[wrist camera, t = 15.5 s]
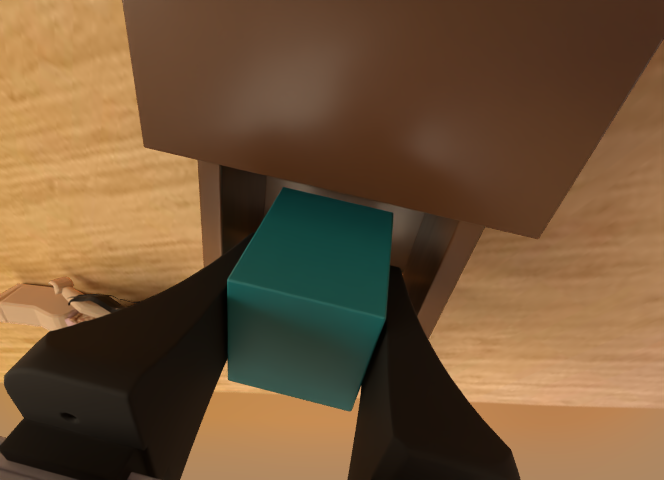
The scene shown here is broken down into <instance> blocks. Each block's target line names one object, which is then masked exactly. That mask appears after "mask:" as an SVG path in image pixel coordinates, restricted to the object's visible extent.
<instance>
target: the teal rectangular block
mask: <svg viewBox="0 0 664 480" xmlns="http://www.w3.org/2000/svg"><path fill="white" fill-rule="evenodd" d="M393 217H394V214H393V213H392V212H389V211H384V210H380V209H376V208H372V207H367V206H363V205H359V204H354V203H350V202H346V201H342V200H337V199H333V198H329V197H324V196H320V195H316V194H312V193H307V192H303V191H299V190H294V189H290V188H286V187H283V188H282V190H281V191H280V193H279V195H278V196H277V198H276V200H275V201H274V203H273V205H272V206H271V208H270V209H269V211H268V213H267V214H266V216H265V218H264V219H263V221H262V223H261V224H260V226H259V228H258V229H257V231H256V233H255V234H254V236H253V238H252V239H251V241H250V243H249V244H248V246H247V248H246V249H245V251H244V252H243V254H242V256H241V257H240V259H239V261H238V262H237V264H236V266H235V267H234V269H233V271H232V272H231V274H230V276H229V277H228V279H227V327H228V380H229V381H233V382H237V383H241V384H245V385H249V386H253V387H256V388H260V389H264V390H268V391H272V392H276V393H280V394H284V395H288V396H291V397H295V398H299V399H303V400H307V401H311V402H315V403H319V404H322V405H326V406H330V407H334V408H338V409H342V410H346V411H351V410H352V408H353V405H354V403H355V400H356V397H357V395H358V392H359V390H360V387H361V384H362V382H363V379H364V376H365V374H366V371H367V368H368V366H369V363H370V360H371V358H372V355H373V352H374V350H375V347H376V344H377V342H378V339H379V336H380V334H381V331H382V328H383V326H384V323H385V320H386V313H387V300H388V286H389V272H390V258H391V245H392V231H393Z"/></svg>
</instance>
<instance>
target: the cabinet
mask: <svg viewBox="0 0 664 480" xmlns="http://www.w3.org/2000/svg"><path fill="white" fill-rule="evenodd" d="M122 2H123V9H124V15H125V22H126V29H127V36H128V42H129V49H130V56H131V63H132V69H133V76H134V83H135V90H136V96H137V103H138V110H139V117H140V123H141V130H142V137H143V144H144V147H145V148H150V149H154V150H158V151H162V152H167V153H171V154H175V155H180V156H184V157H188V158H192V159H197V160H201V161H205V162H210V163H214V164H218V165H222V166H227V167H231V168H235V169H240V170H244V171H248V172H252V173H257V174H261V175H265V176H270V177H274V178H278V179H282V180H287V181H291V182H295V183H300V184H304V185H308V186H312V187H317V188H321V189H325V190H330V191H334V192H338V193H342V194H347V195H351V196H355V197H360V198H364V199H368V200H372V201H377V202H381V203H385V204H390V205H394V206H398V207H402V208H407V209H411V210H415V211H420V212H424V213H428V214H432V215H437V216H441V217H445V218H450V219H454V220H458V221H462V222H467V223H471V224H475V225H480V226H484V227H488V228H492V229H497V230H501V231H505V232H510V233H514V234H518V235H522V236H527V237H531V238H535V239H539V238H540V236H541V234H542V233H543V231H544V230H545V228H546V226H547V225H548V223H549V222H550V220H551V218H552V217H553V215H554V214H555V212H556V210H557V209H558V207H559V206H560V204H561V202H562V201H563V199H564V198H565V196H566V194H567V193H568V191H569V190H570V188H571V186H572V185H573V183H574V182H575V180H576V178H577V177H578V175H579V174H580V172H581V170H582V169H583V167H584V166H585V164H586V162H587V161H588V159H589V158H590V156H591V154H592V153H593V151H594V150H595V148H596V146H597V145H598V143H599V142H600V140H601V138H602V137H603V135H604V134H605V132H606V130H607V129H608V127H609V125H610V124H611V122H612V121H613V119H614V117H615V116H616V114H617V113H618V111H619V109H620V108H621V106H622V105H623V103H624V101H625V100H626V98H627V97H628V95H629V93H630V92H631V90H632V89H633V87H634V85H635V84H636V82H637V81H638V79H639V77H640V76H641V74H642V73H643V71H644V69H645V68H646V66H647V65H648V63H649V61H650V60H651V58H652V57H653V55H654V53H655V52H656V50H657V49H658V47H659V45H660V44H661V42H662V41H663V39H664V0H122Z"/></svg>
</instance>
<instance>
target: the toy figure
mask: <svg viewBox="0 0 664 480" xmlns="http://www.w3.org/2000/svg"><path fill="white" fill-rule="evenodd" d="M48 284H52V285H53V287H46V286H37V285H28V284H16V285H15V286H13V287H11V288H10V289H8V290H6V291H5V292H3V293H1V294H0V322H5V323H14V324H23V325H31V326H40V327H43V328H45V329H47V330H49V331H53V330H57V329H61V328H64V327H68V326H71V325H75V324H78V323H82V322H86V321H89V320H92V319H95V318H98V317H101V316H104V315H107V314H110V313H113V312H116V311H118V310H121V309H124V308H126V307H125V306H122V305H120V304H119V303H118V302H116V301H115V300H113V299H112V298H110V297H109V296H111V295H101V294H88V295H84V294H83V293H81V292H79V291H78V290H76V289H74V288H73V282H72V280H71V279H70V278H68V277H61V278H58V279H55V280H51V281H49V283H48ZM113 297H114V296H113ZM115 298H116V297H115ZM118 300H119V299H118ZM120 300H122V299H120ZM126 300H127V299H126ZM126 300H124V301H126ZM130 301H131V300H130ZM130 301H128V302H130ZM139 302H140V301H137V302H136V301H135V302H132V303H139ZM122 303H123V302H122ZM126 306H127V305H126Z"/></svg>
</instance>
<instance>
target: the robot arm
mask: <svg viewBox="0 0 664 480" xmlns="http://www.w3.org/2000/svg"><path fill="white" fill-rule="evenodd" d="M254 234H255V233H254V232H253V233H251V234H250V235H248V236H247V237H246V238H244V239H243V240H242V241H241V242H239V243H238V244H237V245H235V246H234V247H233V248H231V249H230V250H229V251H227V252H226V253H225V254H223V255H222V256H220V257H219V258H218V259H216V260H215V261H213V262H212V263H211V264H209V265H208V266H206V267H205V268H203V269H201V270H200V271H198V272H197V273H195V274H193V275H192V276H190V277H189V278H187V279H185V280H184V281H182V282H180V283H178V284H176V285H175V286H173V287H171V288H169V289H167V290H165V291H163V292H161V293H159V294H157V295H155V296H152V297H150V298H148V299H145V300H143V301H141V302H139V303H136V304H134V305H132V306H129V307H126V308H124V309H121V310H118V311H116V312H113V313H110V314H107V315H104V316H101V317H98V318H95V319H92V320H89V321H86V322H82V323H78V324H75V325H71V326H68V327H64V328H61V329H57V330H53V331H50V332H48V333H47V334H46V335H45V336H44V337H43V338H42V339H41V340H39V341H38V342H37V343H36V344H35V345H34V346H33V347H32V348H31V349H30V350H29V351H28V352H27V353H26V354H25V355H24V356H23V357H22V358H21V359H20V360H19V361H18V362H17V363H16V364H15V365H14V366H13V367H12V368H11V369H10V370H9V371H8V372H7V373H6V374H5V375H4V386H5V388H6V390H7V393H8V394H9V396H10V397H11V399H12V400H13V402H14V403H15V405H16V406H17V408H18V409H19V411H20V412H21V414H22V416H23V417H24V419H23V420H22V421H21V422H20V423H19V424H18V425H17V427H16V428H15V429H14V430H13V431H12V432H11V434H10V435H9V436H8V437H7V438H5V437H2V436H0V480H180V478H181V476H182V473H183V470H184V467H185V465H186V462H187V459H188V456H189V454H190V451H191V448H192V446H193V443H194V440H195V437H196V435H197V432H198V430H199V427H200V424H201V422H202V419H203V416H204V414H205V412H206V409H207V406H208V404H209V401H210V399H211V396H212V394H213V392H214V389H215V387H216V384H217V382H218V379H219V377H220V375H221V372H222V370H223V367H224V365H225V363H226V361H227V359H228V327H227V279H228V277H229V276H230V274H231V272H232V271H233V269H234V267H235V266H236V264H237V262H238V261H239V259H240V257H241V256H242V254H243V252H244V251H245V249H246V248H247V246H248V244H249V243H250V241H251V239H252V238H253V236H254ZM348 480H520V476H519V473H518V469H517V467H516V463H515V460H514V457H513V454H512V451H511V449H510V448H509V447H508V446H507V445H506V444H505V443H504V442H503V441H502V440H501V439H500V437H499V436H498V435H497V434H496V433H495V432H494V431H493V430H492V429H491V428H490V427H489V426H488V424H487V423H486V422H485V421H484V420H483V419H482V418H481V416H480V415H479V414H478V413H477V412H476V410H475V409H474V408H473V407H472V405H470V403H469V402H468V400H467V399H466V398H465V396H464V395H463V394H462V392H461V391H460V390H459V388H458V387H457V385H456V384H455V383H454V381H453V380H452V379H451V377H450V376H449V374H448V372H447V371H446V369H445V368H444V366H443V365H442V363H441V361H440V360H439V358H438V356H437V355H436V353H435V351H434V349H433V348H432V346H431V344H430V342H429V340H428V338H427V336H426V334H425V332H424V330H423V328H422V326H421V324H420V322H419V319H418V317H417V315H416V312H415V310H414V307H413V305H412V302H411V300H410V297H409V294H408V291H407V289H406V285H405V282H404V279H403V275H402V271H401V269H400V268H399V267H396V266H391V265H390V272H389V286H388V300H387V313H386V320H385V323H384V326H383V328H382V331H381V334H380V336H379V339H378V342H377V344H376V347H375V350H374V352H373V355H372V358H371V360H370V363H369V366H368V368H367V371H366V374H365V376H364V379H363V382H362V384H361V396H360V404H359V411H358V417H357V425H356V431H355V437H354V444H353V450H352V456H351V462H350V469H349V474H348Z"/></svg>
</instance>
